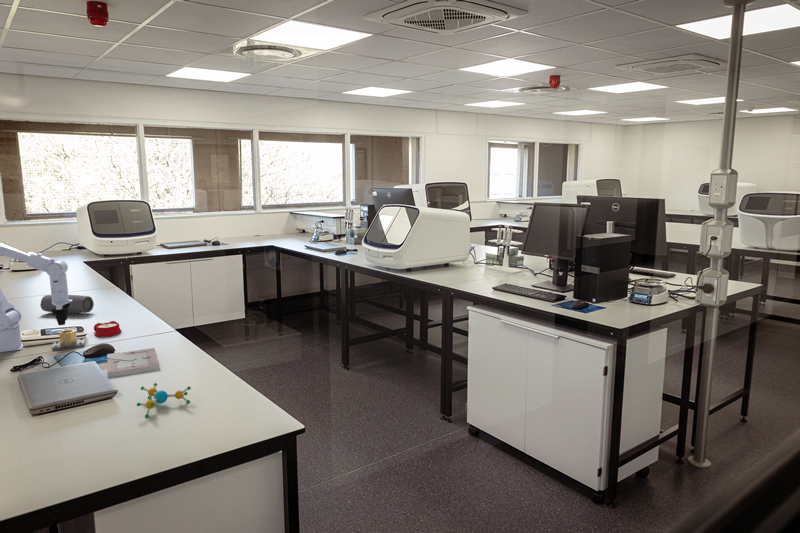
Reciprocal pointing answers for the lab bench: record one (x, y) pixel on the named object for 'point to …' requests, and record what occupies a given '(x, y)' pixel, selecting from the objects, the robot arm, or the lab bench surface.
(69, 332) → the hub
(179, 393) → the molecular model
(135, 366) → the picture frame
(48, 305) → the bluetooth speaker
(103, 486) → the lab bench surface
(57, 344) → the block
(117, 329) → the alarm clock
